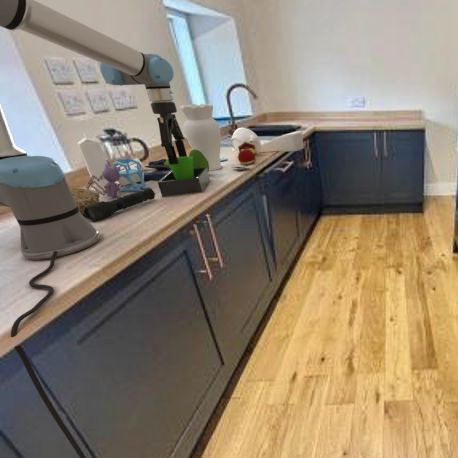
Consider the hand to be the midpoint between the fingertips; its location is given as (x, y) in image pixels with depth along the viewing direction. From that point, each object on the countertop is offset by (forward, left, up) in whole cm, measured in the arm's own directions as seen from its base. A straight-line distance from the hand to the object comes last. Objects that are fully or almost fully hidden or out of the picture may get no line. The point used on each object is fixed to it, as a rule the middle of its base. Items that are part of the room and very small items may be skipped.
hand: (179, 160), depth 135 cm
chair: (+7, +20, -11) cm, 24 cm away
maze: (-2, +27, -6) cm, 28 cm away
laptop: (+22, -18, -12) cm, 31 cm away
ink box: (+14, +23, -8) cm, 29 cm away
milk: (+11, +31, -11) cm, 35 cm away
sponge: (-15, +28, -11) cm, 34 cm away
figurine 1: (-3, +24, -11) cm, 26 cm away
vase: (+32, -4, -11) cm, 34 cm away
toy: (+54, -6, -11) cm, 56 cm away
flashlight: (-20, +15, -11) cm, 27 cm away
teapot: (+58, -23, -2) cm, 62 cm away
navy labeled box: (+30, +16, -10) cm, 35 cm away
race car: (+28, +15, -8) cm, 33 cm away
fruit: (+17, -2, -11) cm, 21 cm away
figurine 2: (+45, -20, -6) cm, 50 cm away
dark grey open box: (0, 0, -11) cm, 11 cm away
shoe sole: (+63, -31, -13) cm, 71 cm away
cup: (0, 0, -11) cm, 11 cm away
